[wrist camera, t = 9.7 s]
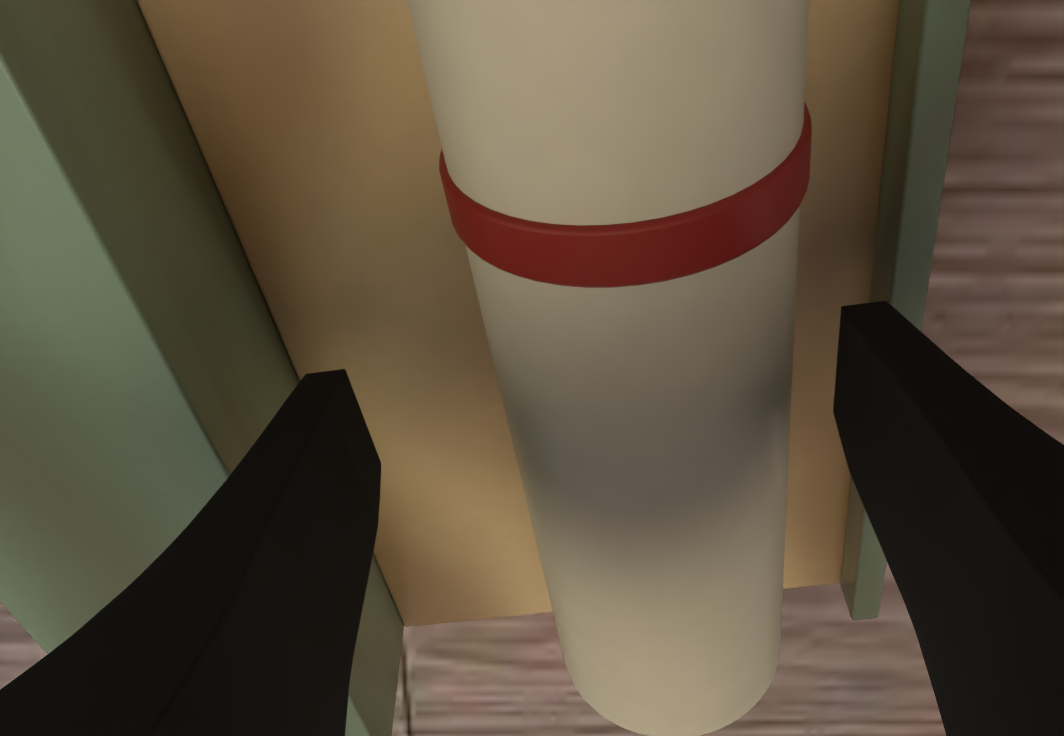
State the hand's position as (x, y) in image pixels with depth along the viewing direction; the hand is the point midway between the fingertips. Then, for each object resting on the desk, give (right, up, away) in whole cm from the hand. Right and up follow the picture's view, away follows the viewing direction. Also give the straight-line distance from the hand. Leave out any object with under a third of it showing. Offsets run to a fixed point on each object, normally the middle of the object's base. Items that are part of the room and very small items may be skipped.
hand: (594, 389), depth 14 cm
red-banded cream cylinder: (0, +2, +2) cm, 3 cm away
